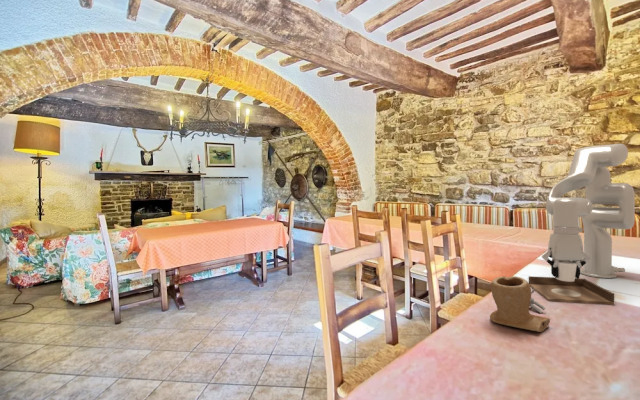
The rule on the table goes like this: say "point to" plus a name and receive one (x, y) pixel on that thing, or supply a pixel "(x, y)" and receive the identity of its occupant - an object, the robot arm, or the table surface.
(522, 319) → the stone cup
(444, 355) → the table surface
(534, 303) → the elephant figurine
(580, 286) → the corner board
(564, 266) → the shot glass
